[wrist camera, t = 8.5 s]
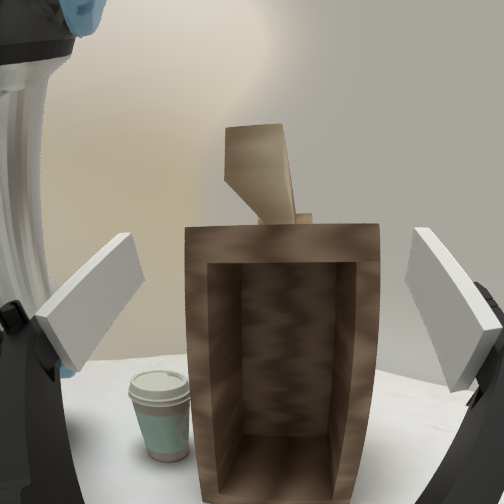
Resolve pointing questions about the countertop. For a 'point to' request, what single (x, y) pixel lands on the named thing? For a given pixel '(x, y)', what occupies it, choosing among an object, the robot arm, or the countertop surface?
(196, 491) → the countertop surface
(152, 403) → the coffee cup
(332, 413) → the walnut shelf
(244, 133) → the beige long flat part
